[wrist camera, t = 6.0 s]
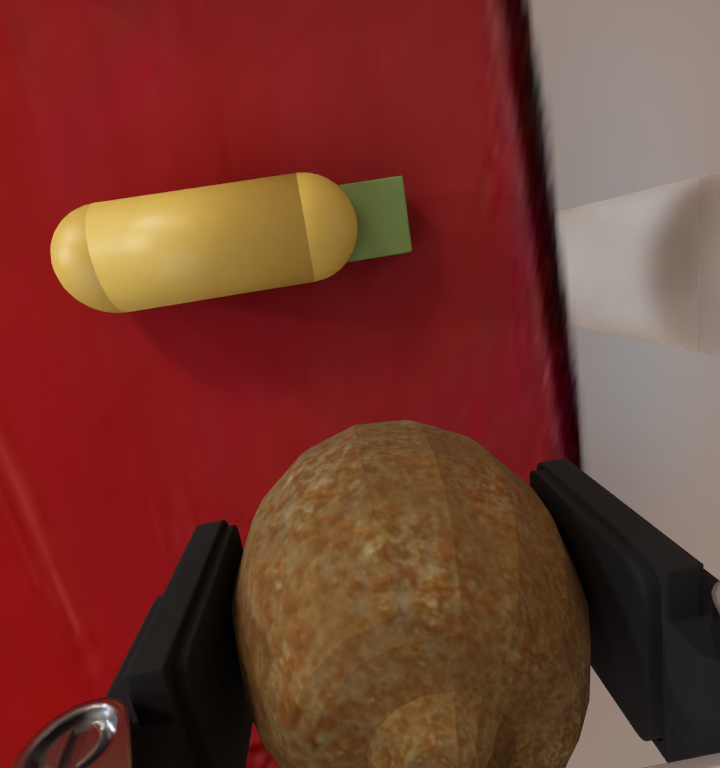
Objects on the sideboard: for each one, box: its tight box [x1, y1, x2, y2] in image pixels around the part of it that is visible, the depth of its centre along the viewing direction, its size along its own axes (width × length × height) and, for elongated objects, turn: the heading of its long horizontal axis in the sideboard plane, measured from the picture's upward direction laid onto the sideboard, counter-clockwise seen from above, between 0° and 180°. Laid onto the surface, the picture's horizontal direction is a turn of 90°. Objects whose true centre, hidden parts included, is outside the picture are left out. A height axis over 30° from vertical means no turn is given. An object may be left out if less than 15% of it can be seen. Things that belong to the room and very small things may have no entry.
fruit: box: [231, 420, 591, 768], centre depth 9 cm, size 6×6×8 cm
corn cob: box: [51, 172, 412, 313], centre depth 20 cm, size 15×4×4 cm, turn 99°
